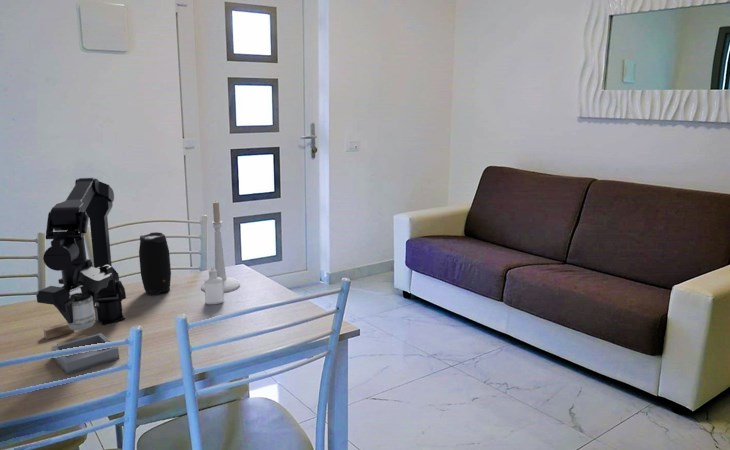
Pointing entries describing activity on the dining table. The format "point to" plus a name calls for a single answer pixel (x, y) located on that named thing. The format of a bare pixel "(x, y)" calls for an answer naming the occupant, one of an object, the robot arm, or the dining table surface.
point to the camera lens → (82, 311)
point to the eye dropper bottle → (213, 288)
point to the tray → (85, 354)
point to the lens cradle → (60, 332)
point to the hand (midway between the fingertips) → (80, 317)
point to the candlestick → (221, 254)
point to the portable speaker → (155, 263)
